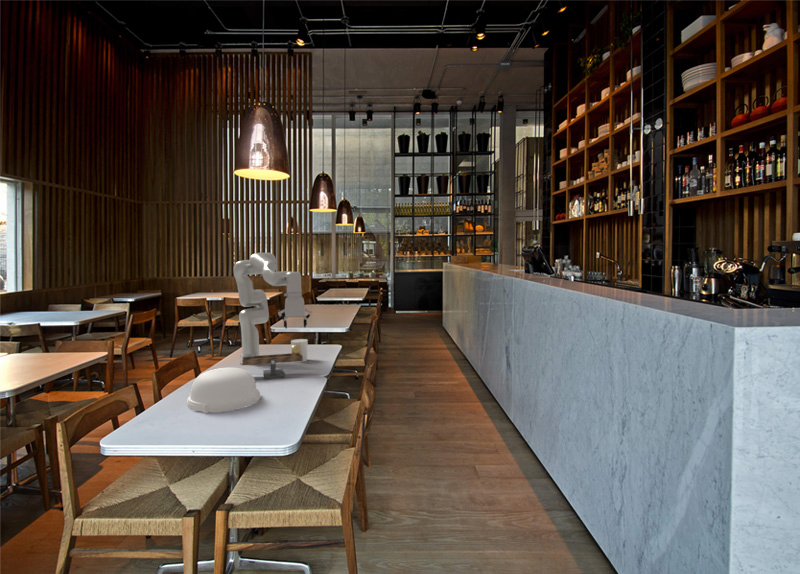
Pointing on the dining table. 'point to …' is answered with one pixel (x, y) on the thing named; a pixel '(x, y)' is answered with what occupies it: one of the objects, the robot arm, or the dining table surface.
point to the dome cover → (223, 390)
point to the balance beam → (269, 359)
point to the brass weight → (296, 350)
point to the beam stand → (273, 372)
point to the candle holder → (303, 347)
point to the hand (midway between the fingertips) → (295, 327)
